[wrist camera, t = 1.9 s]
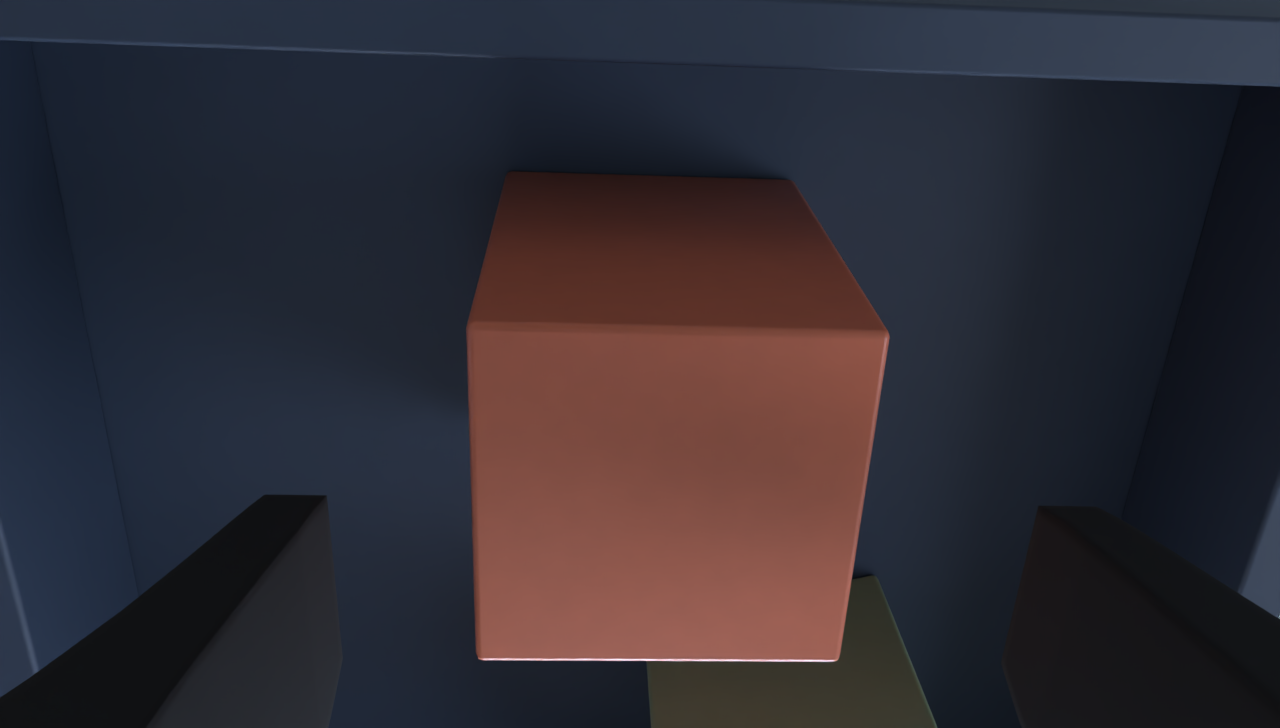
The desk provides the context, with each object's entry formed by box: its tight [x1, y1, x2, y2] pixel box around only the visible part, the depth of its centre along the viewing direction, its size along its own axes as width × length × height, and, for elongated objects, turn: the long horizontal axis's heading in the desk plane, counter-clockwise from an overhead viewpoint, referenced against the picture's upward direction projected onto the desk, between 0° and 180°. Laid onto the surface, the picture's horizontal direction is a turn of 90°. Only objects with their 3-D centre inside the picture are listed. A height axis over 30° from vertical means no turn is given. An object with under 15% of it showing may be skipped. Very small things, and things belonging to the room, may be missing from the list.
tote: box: [0, 0, 1280, 728], centre depth 18 cm, size 20×18×4 cm
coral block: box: [466, 171, 890, 662], centre depth 15 cm, size 4×4×6 cm
